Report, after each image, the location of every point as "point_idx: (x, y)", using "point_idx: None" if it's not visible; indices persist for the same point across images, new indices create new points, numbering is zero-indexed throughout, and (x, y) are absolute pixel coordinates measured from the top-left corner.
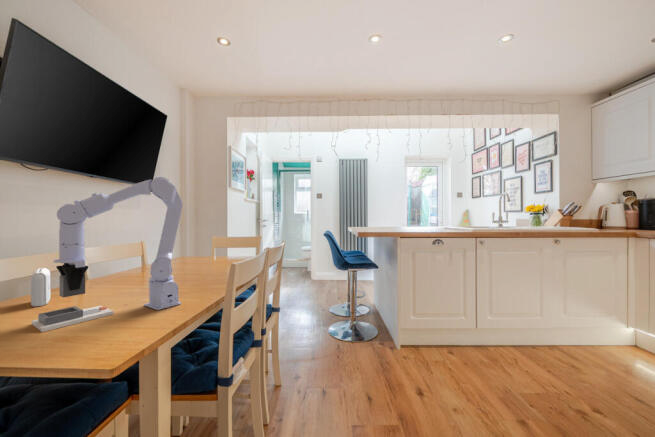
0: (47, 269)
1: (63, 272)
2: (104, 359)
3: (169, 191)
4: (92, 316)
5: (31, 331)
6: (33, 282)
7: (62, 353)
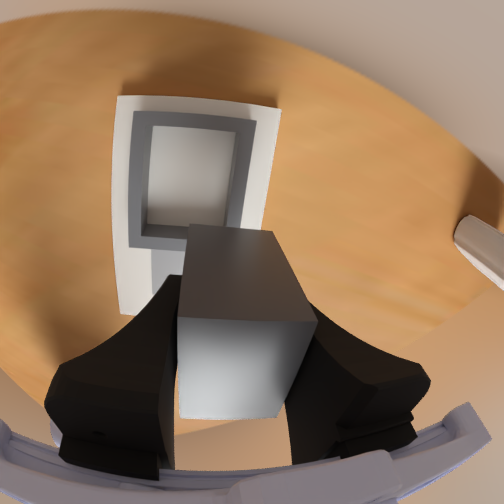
0: None
1: (322, 365)
2: None
3: None
4: (115, 254)
5: (171, 77)
6: None
7: None
